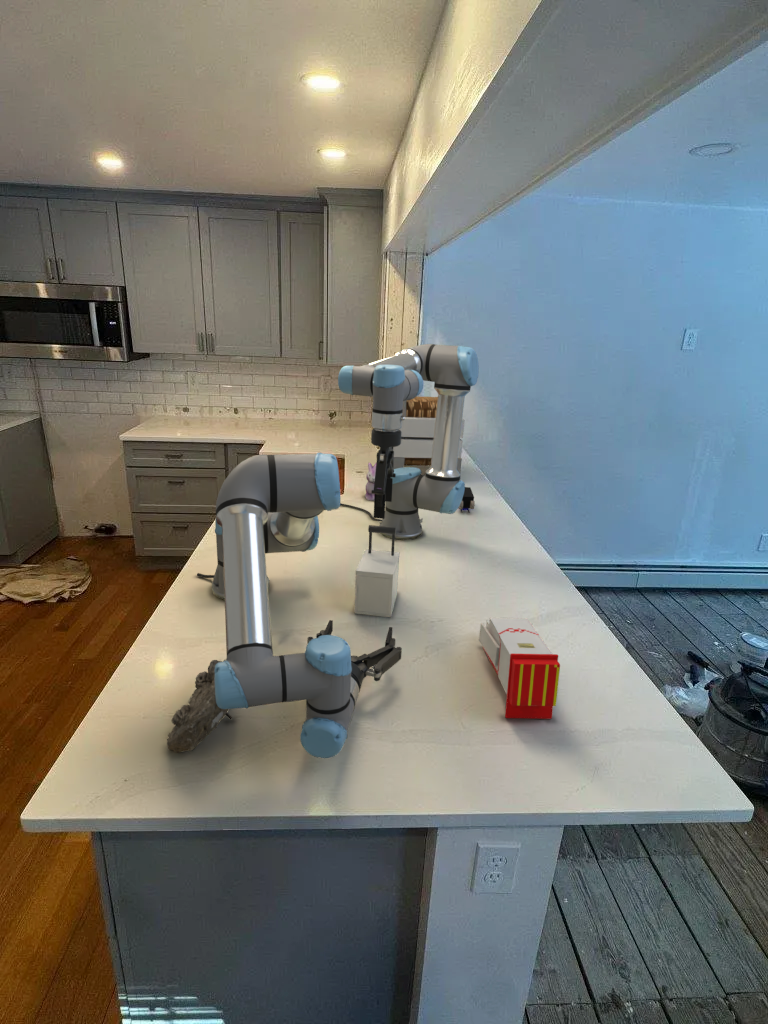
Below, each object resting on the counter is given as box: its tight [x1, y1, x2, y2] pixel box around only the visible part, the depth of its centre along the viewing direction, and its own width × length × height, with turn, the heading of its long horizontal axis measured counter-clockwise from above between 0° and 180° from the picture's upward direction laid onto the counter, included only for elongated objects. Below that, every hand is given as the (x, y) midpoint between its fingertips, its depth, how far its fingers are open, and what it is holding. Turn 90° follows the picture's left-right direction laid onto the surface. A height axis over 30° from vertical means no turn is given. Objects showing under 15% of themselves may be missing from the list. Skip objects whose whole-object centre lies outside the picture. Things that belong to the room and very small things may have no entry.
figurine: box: [364, 461, 381, 501], centre depth 234 cm, size 9×10×15 cm
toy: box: [478, 616, 561, 720], centre depth 122 cm, size 12×13×30 cm
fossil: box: [166, 659, 233, 754], centre depth 106 cm, size 22×10×15 cm
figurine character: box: [458, 486, 476, 514], centre depth 227 cm, size 7×8×15 cm
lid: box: [355, 524, 401, 579], centre depth 148 cm, size 14×10×9 cm
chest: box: [353, 559, 400, 618], centre depth 151 cm, size 13×10×11 cm
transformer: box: [393, 395, 465, 475], centre depth 268 cm, size 34×33×41 cm
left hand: (360, 628), depth 127 cm, fingers open, 13 cm apart
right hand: (383, 509), depth 149 cm, fingers open, 13 cm apart
